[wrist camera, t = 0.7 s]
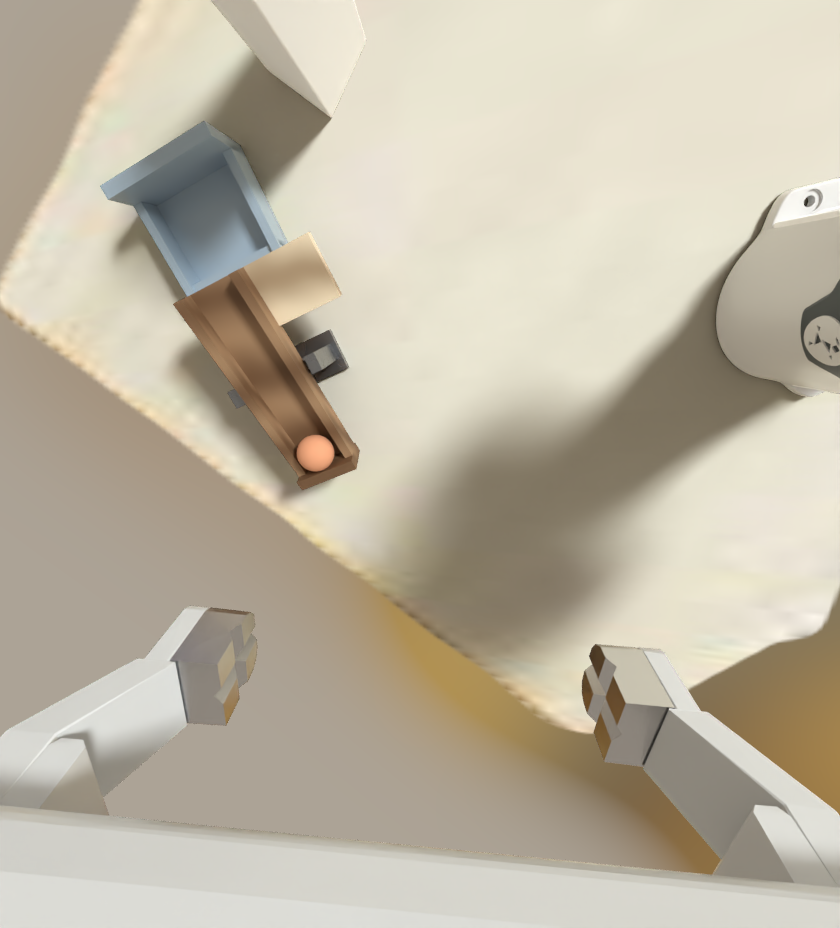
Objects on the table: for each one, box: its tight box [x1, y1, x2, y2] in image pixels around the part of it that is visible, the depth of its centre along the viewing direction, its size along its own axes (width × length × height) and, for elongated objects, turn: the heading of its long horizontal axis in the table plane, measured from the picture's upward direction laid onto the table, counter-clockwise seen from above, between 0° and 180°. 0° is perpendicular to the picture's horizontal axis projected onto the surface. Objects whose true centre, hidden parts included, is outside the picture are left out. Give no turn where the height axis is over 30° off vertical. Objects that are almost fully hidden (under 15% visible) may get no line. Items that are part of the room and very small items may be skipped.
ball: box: [297, 435, 334, 471], centre depth 41 cm, size 4×4×4 cm
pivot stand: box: [228, 329, 349, 408], centre depth 41 cm, size 4×10×7 cm, turn 114°
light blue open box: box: [100, 121, 288, 297], centre depth 37 cm, size 10×9×6 cm
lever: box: [173, 232, 360, 490], centre depth 38 cm, size 19×12×4 cm, turn 24°
